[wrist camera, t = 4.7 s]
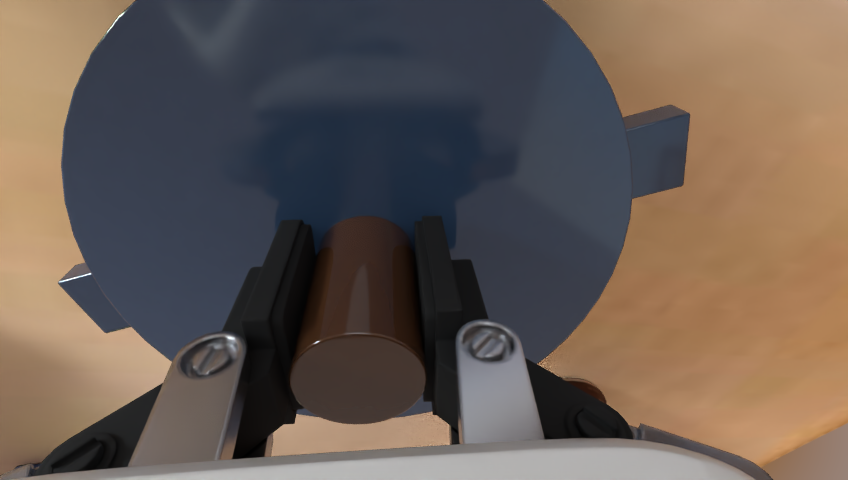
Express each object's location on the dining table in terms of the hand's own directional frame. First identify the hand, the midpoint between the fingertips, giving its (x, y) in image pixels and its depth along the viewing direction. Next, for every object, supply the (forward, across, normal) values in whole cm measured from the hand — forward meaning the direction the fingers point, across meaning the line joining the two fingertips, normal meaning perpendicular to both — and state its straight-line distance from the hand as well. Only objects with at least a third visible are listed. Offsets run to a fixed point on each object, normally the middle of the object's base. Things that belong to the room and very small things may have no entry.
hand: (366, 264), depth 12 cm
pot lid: (+1, 0, 0) cm, 1 cm away
